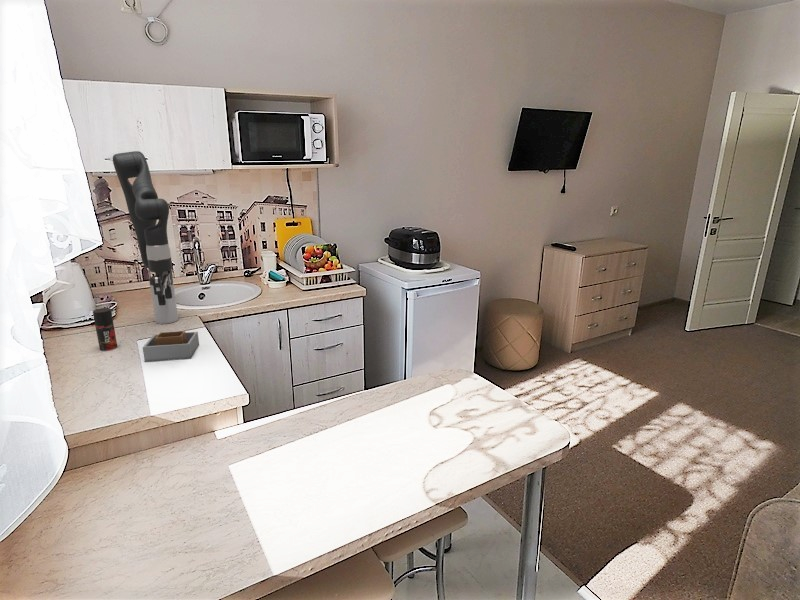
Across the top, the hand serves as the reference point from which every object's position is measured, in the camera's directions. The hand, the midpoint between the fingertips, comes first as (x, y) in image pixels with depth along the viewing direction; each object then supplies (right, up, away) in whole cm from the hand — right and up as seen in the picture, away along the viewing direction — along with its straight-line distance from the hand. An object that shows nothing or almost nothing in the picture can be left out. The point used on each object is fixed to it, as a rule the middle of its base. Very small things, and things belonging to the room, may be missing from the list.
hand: (165, 301), depth 179 cm
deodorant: (-27, -18, +12) cm, 35 cm away
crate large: (0, -19, +5) cm, 20 cm away
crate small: (0, -18, +5) cm, 19 cm away
